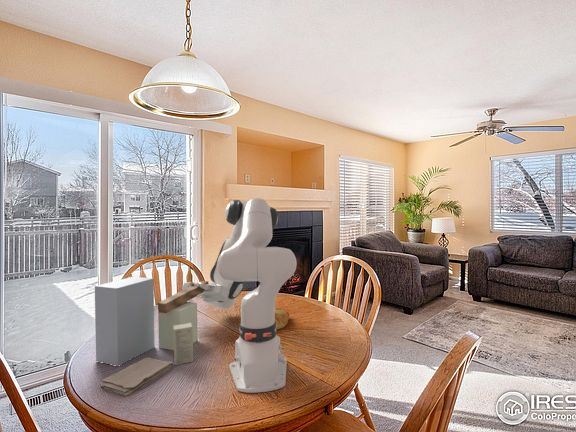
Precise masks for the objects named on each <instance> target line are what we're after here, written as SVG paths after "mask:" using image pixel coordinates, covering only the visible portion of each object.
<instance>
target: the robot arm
mask: <svg viewBox="0 0 576 432" xmlns="http://www.w3.org/2000/svg"><path fill="white" fill-rule="evenodd" d="M224 215H225V220H226V222H227V223H228V224H230V225H233V227H232V231H231V235H230V236H229V237H227V238H226V239H225V240H224V242H223V243H222V246H221V247H220V251H219V253H218V256H217V258H216V259H215V262H214V265H213V266H212V268H211V270H210V273H209V278H210V281H211V282H208V284H203V283H199V285H198V287H199V288H203V289H205V291H203V293H201V294H199V295H198V296H201V298H202V300H203V301H204V302H205V303H207V304H209V305H212V306H214V307H216V308H217V309H221V310H229V309H231V308H233V306H234V305H235V303H236V298H237V297H238V296H239V295H240V294H241V293H242V291H243V289H244V286H245V282H259V285H258V287H256V288H255V289H253V290H251V291H249V292H248V293H246V294H245V295H244V296H243V297H242V299H241V301H240V323H239V328H238V329H239V330H238V331H239V337H238V338H237V339H236V340H235V346H234V347H235V351H234V352H235V353H234V354H235V357H234V361H232V362H231V363H229V366H228V369H229V371H230V374H231V376H232V379H233V382H234V385H235V387H236V390H237V391H238V392H241V393H247V394H248V393H249V394H250V393H251V394H253V393H266V392H271V391H276V390H279V389H281V388H284V387H286V382H287V381H286V380H287V368H288V367H287V366H288V365H287V364H288V363H287V361H288V360H287V358H285V354H284V353H281V351H282V350H283V345H282V344H281V337H280V336H279V335H277V330H278V329H277V327H276V321H275V310H276V300H277V296H278V294H279V292H280V290H281V288H282V286H283V285H284V284H285V283H286V282H287V281H288V280H289V279H291V278H292V276H294V273H295V272H296V269H297V265H298V264H297V263H298V262H297V258H296V255H295V253H294V252H293V251H292V250H291V249H290V248H285V247H279V246H268V245H269V243H271V240H272V238H273V235H274V234H273V231H274V229H275V228H276V226H277V224H278V221H279V214H278V211H277V209H276V208H274V207H272V206H269V204H268V203H267V201H266V200H265V199H263V198H260V197H253V198H251V199H249V200H248V201H247V200H240V199H233V200H231V201H229V202H228V204H227V206H226V208H225V211H224ZM196 283H197V282H193V281H188V282H187V281H185V282H184V283H183V285H182V290H184V289H186V288H188V287H190V286H192V285H194V284H196ZM182 290H181V291H182ZM276 329H277V330H276Z"/></svg>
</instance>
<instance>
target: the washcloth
mask: <svg viewBox="0 0 576 432" xmlns="http://www.w3.org/2000/svg"><path fill="white" fill-rule="evenodd" d="M174 366H175V364H174V362H172V361H168V360H159V359H156V358H153V357H144V358H142V359H140V360H138V361H136V362H134V363H132V364H130V365H127V366H126V367H123V369H120V370H119V371H117V372H115V373H113V374H111V375H109V376H107V377H106V378H103V379H102V380H101V381H100V383H101V386H100V388H101V387H102V388H103V389H104V390H105V391H107V392H111V393H114V392H115V394H116V393H117V394H116V395H119V394H120V396H122V397H127V396H129V395H131V394H133V393H135V392H137V391H139V390H140V389H142V388H143V387H145V386H147V385H149V384H150V383H151V382H153V381H155V380H157V379H159V378H160V377H161V376H163V375H164V374H166V373H168V372H170V371H171V370H172V369H173V368H174Z"/></svg>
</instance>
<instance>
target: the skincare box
mask: <svg viewBox="0 0 576 432" xmlns="http://www.w3.org/2000/svg"><path fill="white" fill-rule="evenodd" d="M173 338H174V350H173V360H174V362H173V364H174V366H176V365H177V366H178V365H181V364H187V363H192V362H194V343H193V332H192V323H185V324H178V325H173Z"/></svg>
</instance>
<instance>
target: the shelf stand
mask: <svg viewBox="0 0 576 432" xmlns="http://www.w3.org/2000/svg"><path fill="white" fill-rule="evenodd" d="M154 279H155V278H153V277H140V276H130V277H126V278H122V279H119V280H114V281H109V282H106V283H102V284H97V285H95V286H94V311H95V312H94V319H95V321H94V322H95V325H94V326H95V362H96V361H98V362H103V363H106V364H112V365H116V366H119V365H121V364H123V363H124V364H126V363H128V362H129V361H128V360H130V359H132V358H134V357H135V358H137V357H139V356H141V355H143V354H144V352H145V353H146V352H148V351H150V350H152V349H154V348H155V346H156V343H155V338H156V337H155V335H156V334H155V288H154V287H155V285H154V284H155V283H154V282H155V281H154ZM142 353H143V354H142ZM140 354H141V355H140ZM138 355H139V356H138ZM136 356H137V357H136ZM135 358H134V359H135ZM132 360H133V359H132ZM127 361H128V362H127ZM130 361H131V360H130ZM98 362H97V363H98ZM125 362H126V363H125ZM106 364H105V365H106ZM124 364H123V365H124ZM121 366H122V365H121ZM119 367H120V366H119Z"/></svg>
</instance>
